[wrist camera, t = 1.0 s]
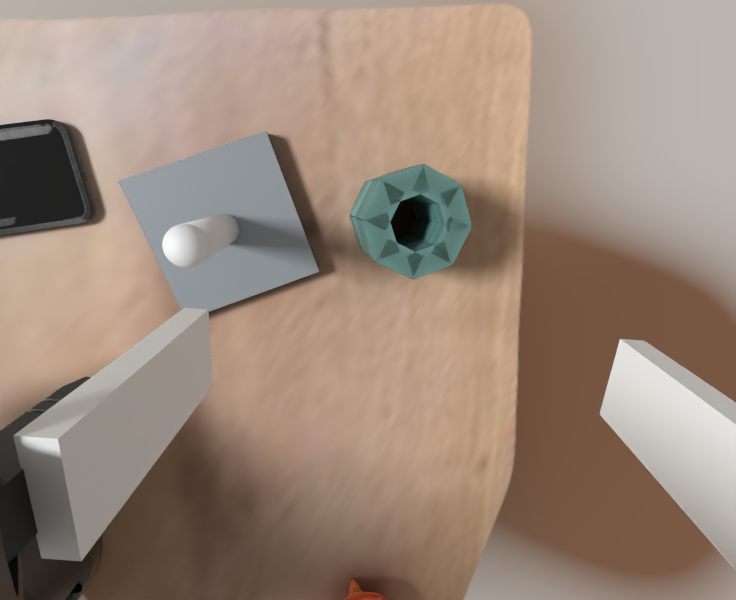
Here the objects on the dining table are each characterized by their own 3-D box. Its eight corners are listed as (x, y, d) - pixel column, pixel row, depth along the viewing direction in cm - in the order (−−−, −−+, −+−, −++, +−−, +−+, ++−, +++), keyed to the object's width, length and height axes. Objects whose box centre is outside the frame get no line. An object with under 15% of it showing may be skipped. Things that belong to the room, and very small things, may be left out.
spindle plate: (190, 315, 37) (123, 388, 23) (126, 181, 34) (2, 172, 20) (318, 268, 38) (328, 311, 24) (267, 133, 35) (244, 91, 21)
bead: (368, 271, 39) (385, 289, 31) (340, 190, 37) (351, 189, 29) (444, 243, 39) (479, 255, 32) (421, 161, 37) (453, 153, 30)
